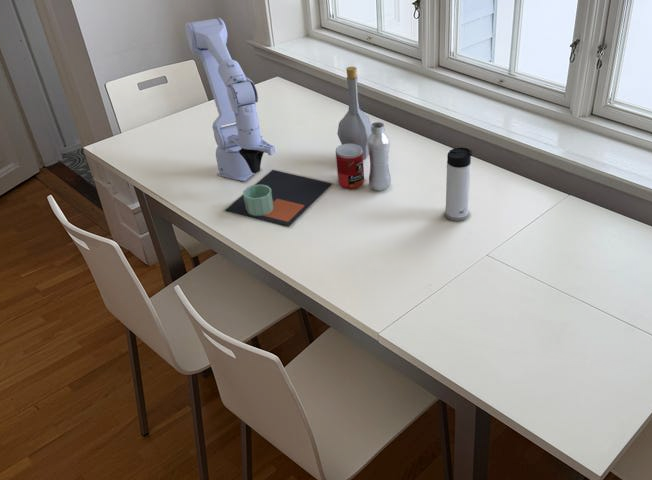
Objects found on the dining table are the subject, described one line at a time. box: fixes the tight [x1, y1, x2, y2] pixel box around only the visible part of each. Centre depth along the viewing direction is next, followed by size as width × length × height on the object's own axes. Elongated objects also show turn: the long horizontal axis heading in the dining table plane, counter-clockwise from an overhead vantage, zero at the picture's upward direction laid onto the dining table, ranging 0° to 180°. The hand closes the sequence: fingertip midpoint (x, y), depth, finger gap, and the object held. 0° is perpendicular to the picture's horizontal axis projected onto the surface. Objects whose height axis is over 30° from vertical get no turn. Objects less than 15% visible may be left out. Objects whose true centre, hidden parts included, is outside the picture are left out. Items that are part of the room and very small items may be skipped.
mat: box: [225, 169, 332, 228], centre depth 190 cm, size 20×24×1 cm
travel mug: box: [445, 147, 474, 222], centre depth 179 cm, size 6×7×20 cm
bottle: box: [336, 66, 372, 161], centre depth 198 cm, size 11×11×30 cm
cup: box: [242, 184, 274, 216], centre depth 183 cm, size 7×7×6 cm
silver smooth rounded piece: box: [367, 121, 392, 192], centre depth 189 cm, size 6×7×20 cm
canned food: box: [335, 144, 365, 190], centre depth 194 cm, size 8×8×11 cm
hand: (255, 171), depth 184 cm, fingers closed
